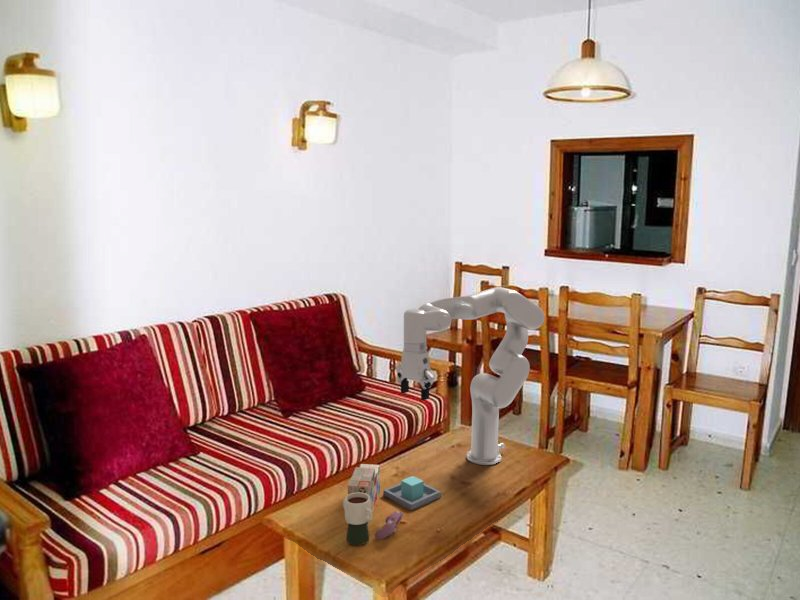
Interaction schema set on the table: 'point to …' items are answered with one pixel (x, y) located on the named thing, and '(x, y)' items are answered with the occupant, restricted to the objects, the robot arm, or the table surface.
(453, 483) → the table surface
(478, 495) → the table surface
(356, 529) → the character mug
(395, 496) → the tray
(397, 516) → the purple elongated lump
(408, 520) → the table surface
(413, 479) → the cube
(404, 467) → the table surface
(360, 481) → the stack of blocks
